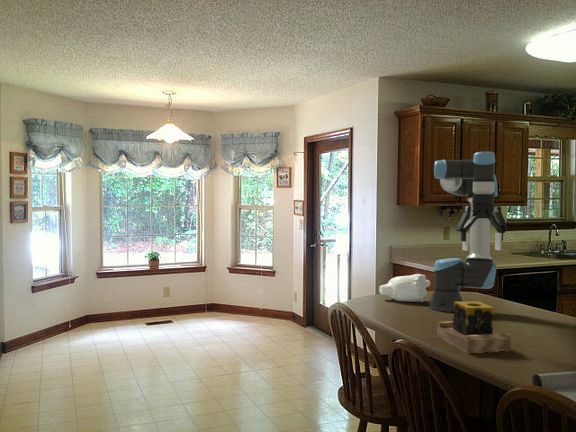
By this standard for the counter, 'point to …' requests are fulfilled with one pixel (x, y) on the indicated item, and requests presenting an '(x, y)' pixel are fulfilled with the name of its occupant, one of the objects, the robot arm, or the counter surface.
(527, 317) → the counter surface
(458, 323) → the candle
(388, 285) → the mask
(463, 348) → the display stand
